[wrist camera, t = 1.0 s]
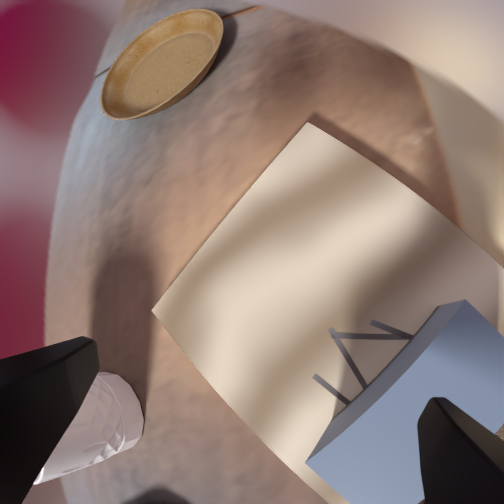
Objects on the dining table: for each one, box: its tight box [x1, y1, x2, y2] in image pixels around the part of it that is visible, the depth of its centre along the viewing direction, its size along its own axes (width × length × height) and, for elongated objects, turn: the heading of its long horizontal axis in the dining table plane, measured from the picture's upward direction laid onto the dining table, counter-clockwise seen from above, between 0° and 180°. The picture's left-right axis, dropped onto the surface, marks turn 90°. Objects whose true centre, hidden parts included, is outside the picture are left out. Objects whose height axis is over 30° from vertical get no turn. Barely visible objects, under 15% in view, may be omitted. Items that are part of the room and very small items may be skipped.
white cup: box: [33, 372, 144, 484], centre depth 18 cm, size 8×8×10 cm
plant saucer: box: [100, 9, 223, 120], centre depth 27 cm, size 15×15×3 cm
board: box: [152, 122, 504, 504], centre depth 17 cm, size 20×16×2 cm
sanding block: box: [305, 299, 504, 504], centre depth 11 cm, size 4×8×6 cm, turn 137°
